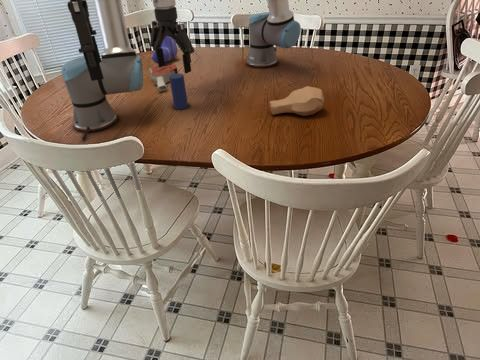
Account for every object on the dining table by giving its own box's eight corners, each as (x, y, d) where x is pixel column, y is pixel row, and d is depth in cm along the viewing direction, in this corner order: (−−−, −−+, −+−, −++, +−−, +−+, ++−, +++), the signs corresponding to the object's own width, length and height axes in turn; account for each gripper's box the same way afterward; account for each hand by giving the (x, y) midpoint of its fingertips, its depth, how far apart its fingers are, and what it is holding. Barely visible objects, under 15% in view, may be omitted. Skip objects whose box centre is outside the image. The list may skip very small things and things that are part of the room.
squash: (328, 116, 127) (328, 95, 121) (272, 126, 129) (270, 106, 123) (321, 99, 135) (321, 79, 128) (269, 109, 137) (266, 89, 130)
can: (190, 105, 141) (186, 74, 134) (180, 110, 138) (175, 79, 131) (181, 102, 144) (176, 72, 137) (171, 107, 141) (166, 76, 134)
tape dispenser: (162, 96, 154) (191, 78, 166) (160, 85, 150) (189, 67, 163) (133, 88, 161) (162, 71, 174) (130, 77, 158) (160, 60, 170)
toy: (165, 64, 198) (145, 69, 175) (161, 31, 191) (139, 33, 169) (182, 63, 196) (164, 69, 173) (178, 30, 189) (159, 32, 167)
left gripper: (86, -25, 67) (115, 84, 79) (86, -35, 86) (109, 54, 98) (43, -21, 65) (80, 90, 77) (53, -32, 84) (81, 58, 96)
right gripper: (132, 6, 124) (144, 67, 136) (183, 12, 111) (192, 78, 124) (148, 2, 129) (159, 61, 141) (199, 7, 116) (206, 71, 129)
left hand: (97, 70), depth 88 cm, fingers open, 13 cm apart
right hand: (174, 69), depth 133 cm, fingers open, 13 cm apart
